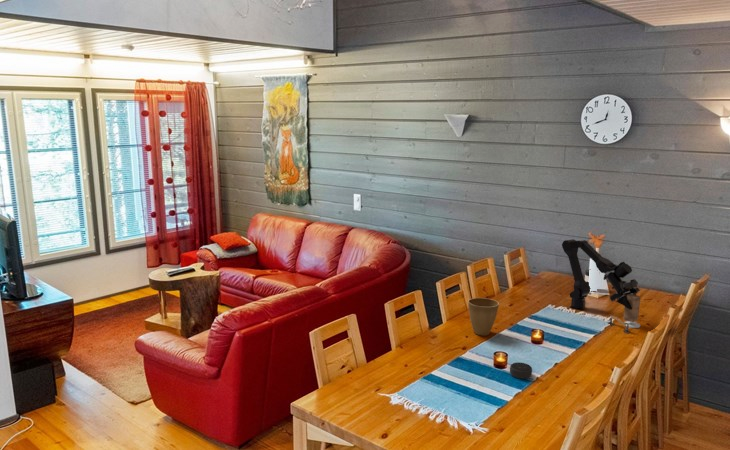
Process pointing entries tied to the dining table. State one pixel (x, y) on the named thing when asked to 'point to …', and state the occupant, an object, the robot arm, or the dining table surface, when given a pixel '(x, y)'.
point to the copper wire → (619, 322)
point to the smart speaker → (521, 370)
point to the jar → (586, 275)
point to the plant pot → (482, 314)
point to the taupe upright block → (634, 312)
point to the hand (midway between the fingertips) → (634, 308)
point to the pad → (633, 324)
